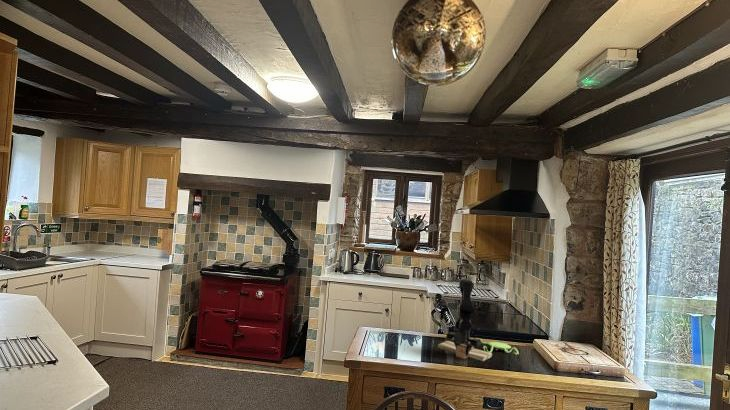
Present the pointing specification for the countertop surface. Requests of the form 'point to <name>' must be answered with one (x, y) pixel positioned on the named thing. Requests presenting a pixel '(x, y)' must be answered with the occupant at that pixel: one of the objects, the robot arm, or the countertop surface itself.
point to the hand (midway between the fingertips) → (462, 354)
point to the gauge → (462, 351)
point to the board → (473, 352)
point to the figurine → (498, 346)
